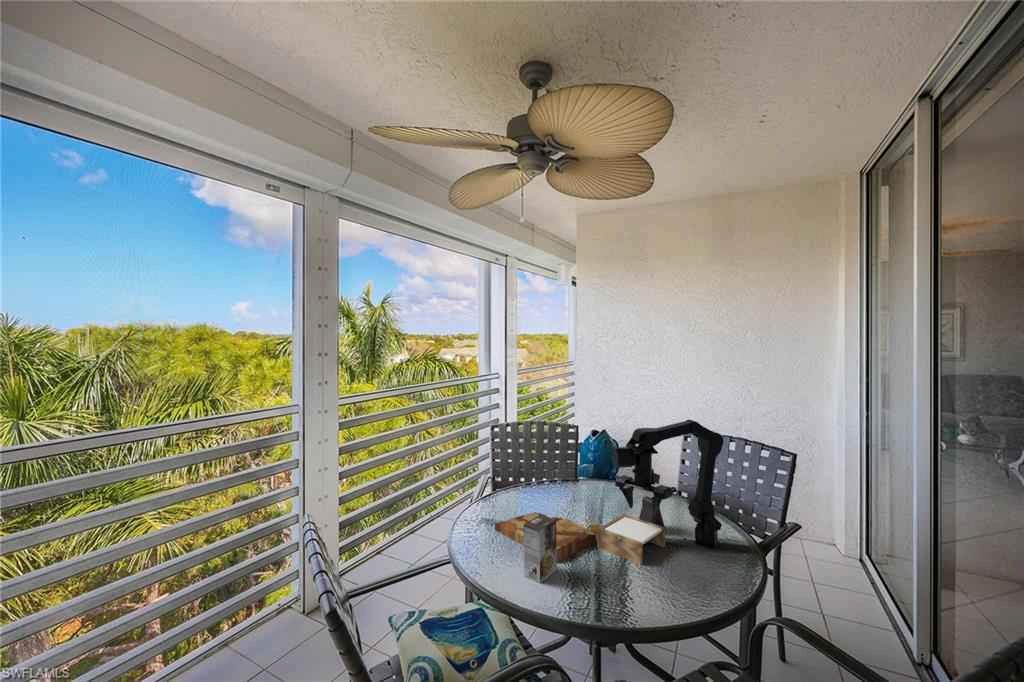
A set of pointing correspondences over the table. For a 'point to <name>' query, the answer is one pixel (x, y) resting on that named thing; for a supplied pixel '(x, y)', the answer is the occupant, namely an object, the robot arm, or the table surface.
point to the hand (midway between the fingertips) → (642, 511)
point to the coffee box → (540, 548)
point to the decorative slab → (567, 534)
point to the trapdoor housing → (626, 541)
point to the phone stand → (650, 513)
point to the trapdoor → (634, 530)
